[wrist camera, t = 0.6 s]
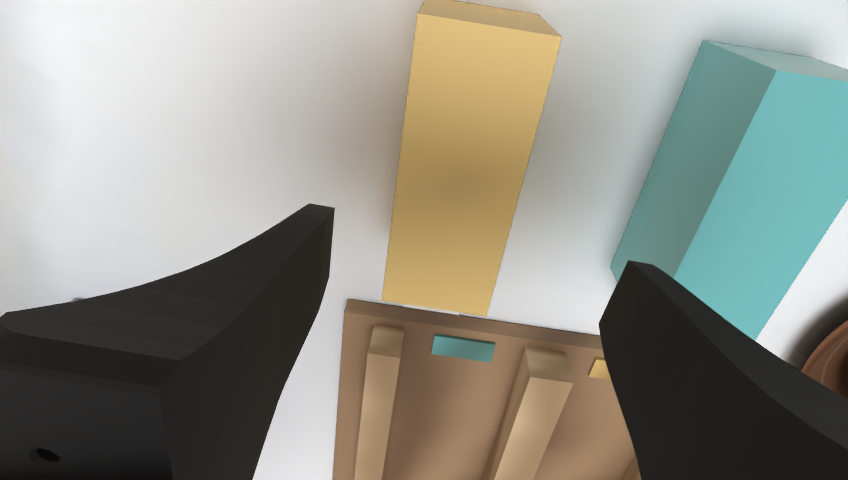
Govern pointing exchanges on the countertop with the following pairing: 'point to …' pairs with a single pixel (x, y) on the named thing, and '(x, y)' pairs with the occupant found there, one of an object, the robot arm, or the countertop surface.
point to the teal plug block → (744, 179)
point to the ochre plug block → (464, 151)
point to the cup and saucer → (831, 361)
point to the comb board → (474, 401)
